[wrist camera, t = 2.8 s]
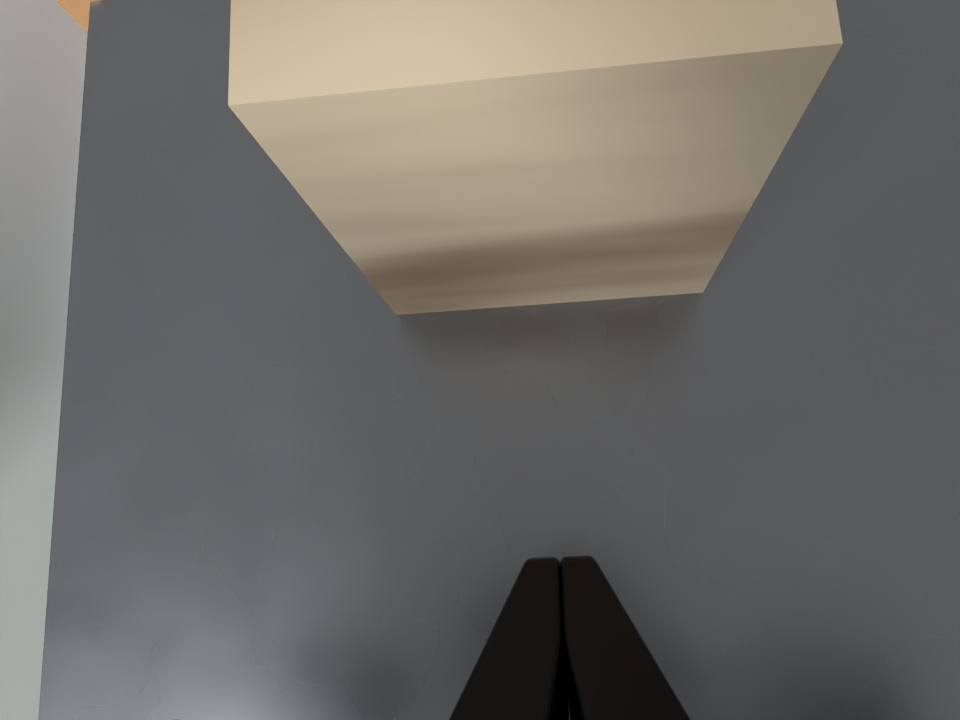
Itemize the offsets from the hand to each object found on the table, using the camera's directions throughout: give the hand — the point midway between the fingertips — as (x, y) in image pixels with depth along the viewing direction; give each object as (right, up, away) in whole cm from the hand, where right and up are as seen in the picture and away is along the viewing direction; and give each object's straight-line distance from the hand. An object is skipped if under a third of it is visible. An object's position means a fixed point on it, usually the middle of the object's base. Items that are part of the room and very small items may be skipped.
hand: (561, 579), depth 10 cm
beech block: (0, +7, +6) cm, 9 cm away
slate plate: (+1, +1, +9) cm, 9 cm away
